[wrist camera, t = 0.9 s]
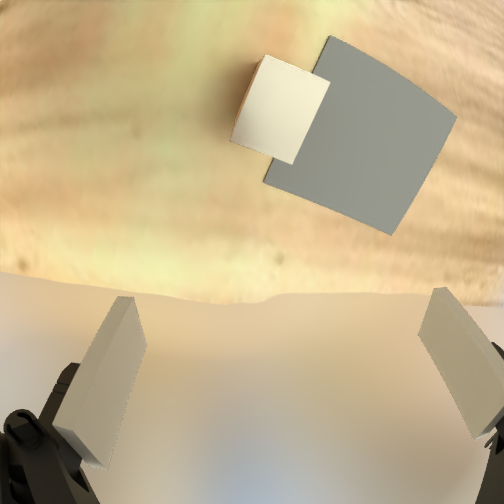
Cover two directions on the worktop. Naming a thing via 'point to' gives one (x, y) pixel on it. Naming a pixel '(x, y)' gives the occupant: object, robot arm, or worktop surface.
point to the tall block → (278, 109)
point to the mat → (365, 140)
